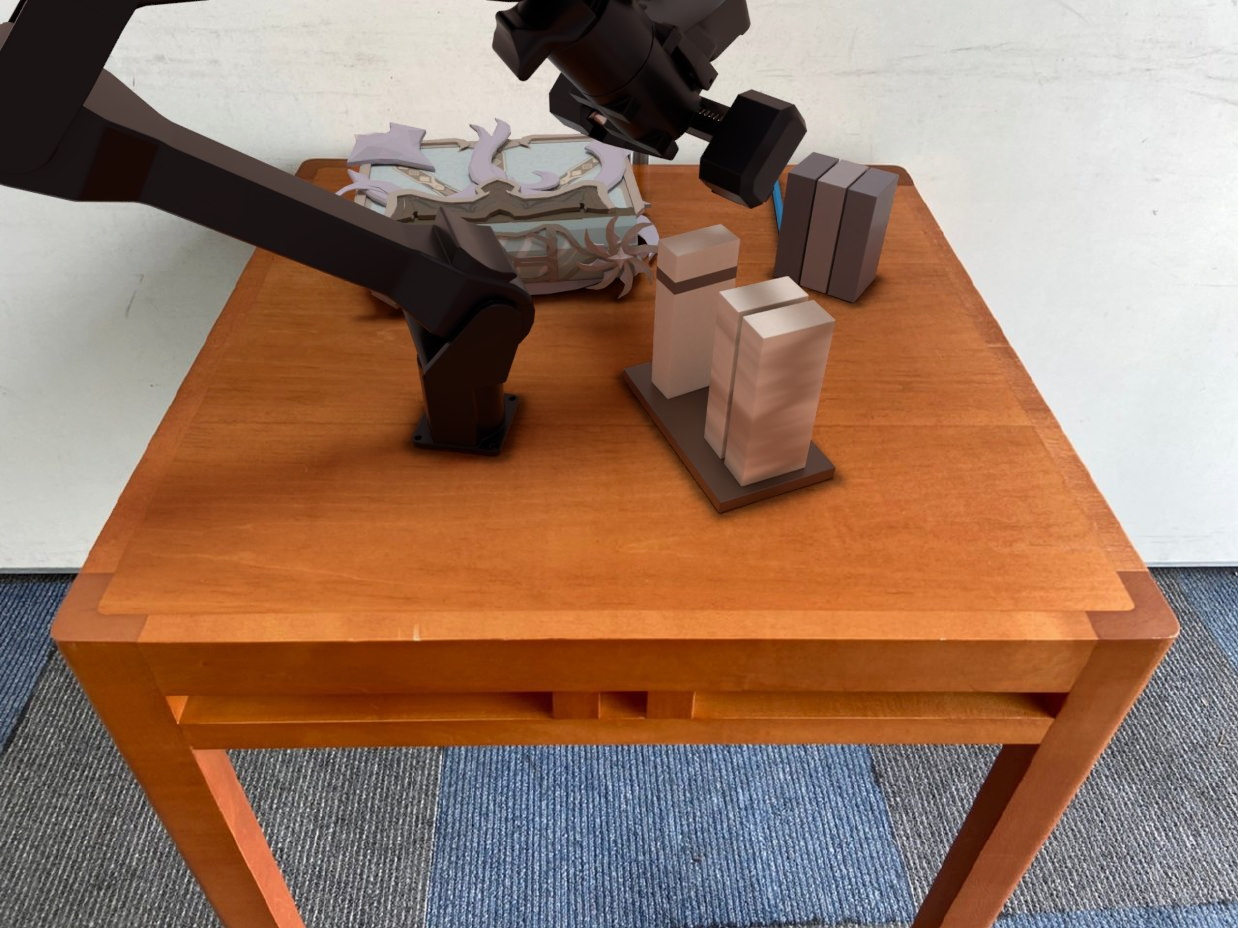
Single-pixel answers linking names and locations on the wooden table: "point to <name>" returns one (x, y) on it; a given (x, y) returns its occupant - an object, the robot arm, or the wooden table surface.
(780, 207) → the pencil
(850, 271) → the grey books
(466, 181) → the ornate book
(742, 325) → the white book rack
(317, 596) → the wooden table surface
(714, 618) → the wooden table surface
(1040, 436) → the wooden table surface
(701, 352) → the white book
